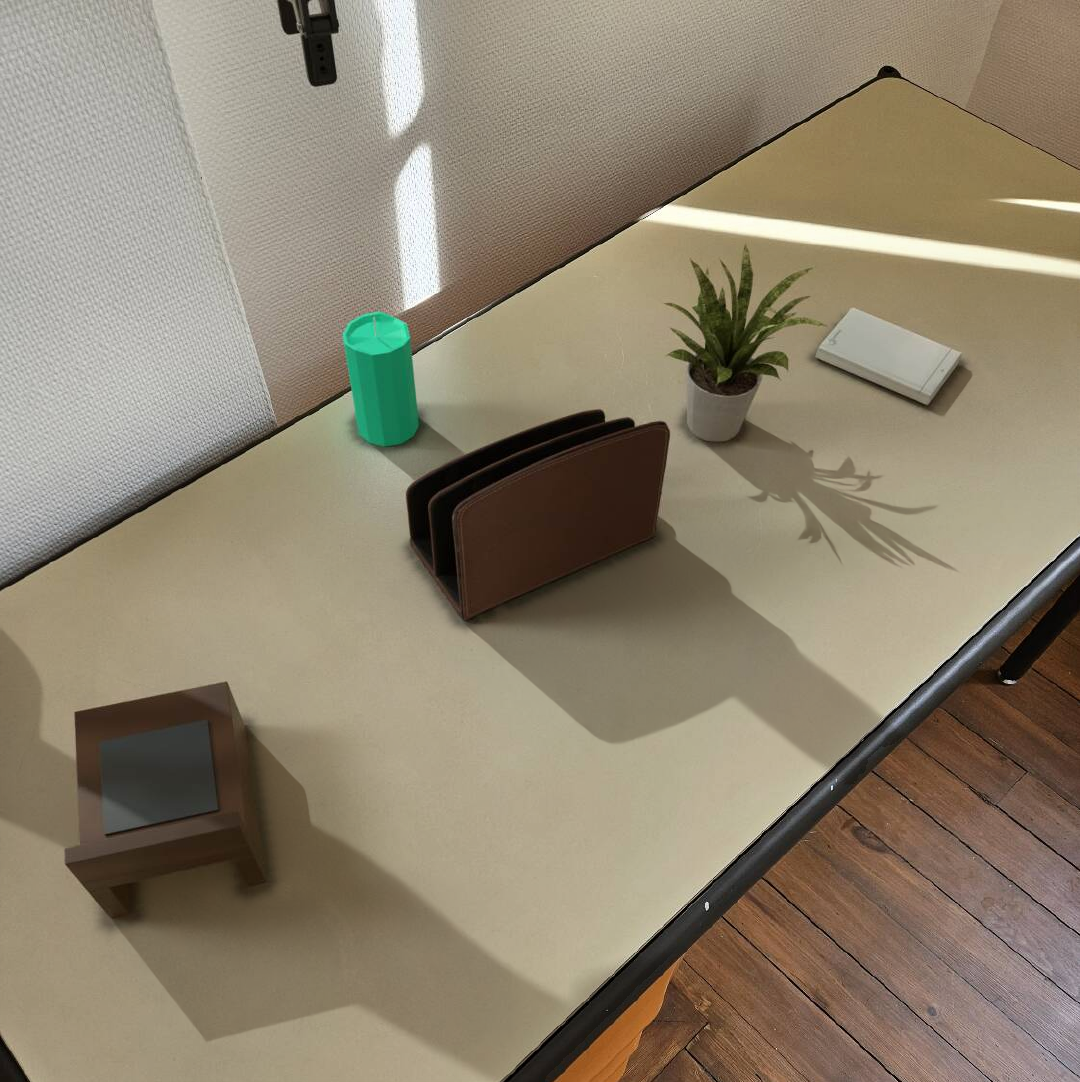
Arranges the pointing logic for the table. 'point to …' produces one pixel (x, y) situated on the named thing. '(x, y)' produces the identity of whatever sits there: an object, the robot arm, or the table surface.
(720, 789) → the table surface
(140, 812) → the wooden side table
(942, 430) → the table surface
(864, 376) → the hard drive
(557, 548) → the letter holder
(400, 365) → the candle
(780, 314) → the house plant
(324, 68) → the robot arm
